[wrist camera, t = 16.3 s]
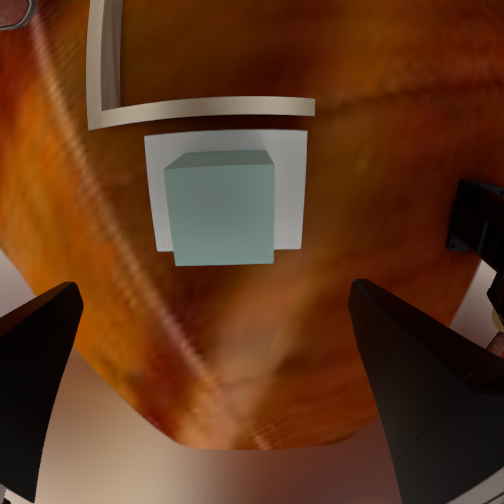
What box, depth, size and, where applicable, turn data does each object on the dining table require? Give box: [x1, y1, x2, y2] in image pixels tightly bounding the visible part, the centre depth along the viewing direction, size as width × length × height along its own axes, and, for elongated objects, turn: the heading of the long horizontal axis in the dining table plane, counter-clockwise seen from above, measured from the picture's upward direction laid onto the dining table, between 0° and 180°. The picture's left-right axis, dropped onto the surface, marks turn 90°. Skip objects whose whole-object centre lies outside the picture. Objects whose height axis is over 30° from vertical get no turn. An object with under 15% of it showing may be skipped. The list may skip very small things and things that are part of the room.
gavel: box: [486, 307, 504, 356], centre depth 29 cm, size 21×5×10 cm
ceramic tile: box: [144, 129, 307, 251], centre depth 19 cm, size 10×8×1 cm
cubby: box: [86, 0, 315, 130], centre depth 12 cm, size 13×15×3 cm
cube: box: [163, 150, 275, 266], centre depth 16 cm, size 5×5×5 cm
